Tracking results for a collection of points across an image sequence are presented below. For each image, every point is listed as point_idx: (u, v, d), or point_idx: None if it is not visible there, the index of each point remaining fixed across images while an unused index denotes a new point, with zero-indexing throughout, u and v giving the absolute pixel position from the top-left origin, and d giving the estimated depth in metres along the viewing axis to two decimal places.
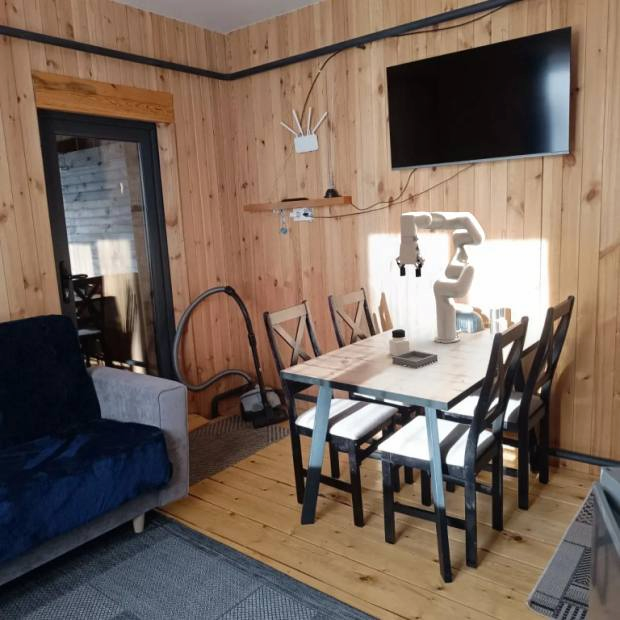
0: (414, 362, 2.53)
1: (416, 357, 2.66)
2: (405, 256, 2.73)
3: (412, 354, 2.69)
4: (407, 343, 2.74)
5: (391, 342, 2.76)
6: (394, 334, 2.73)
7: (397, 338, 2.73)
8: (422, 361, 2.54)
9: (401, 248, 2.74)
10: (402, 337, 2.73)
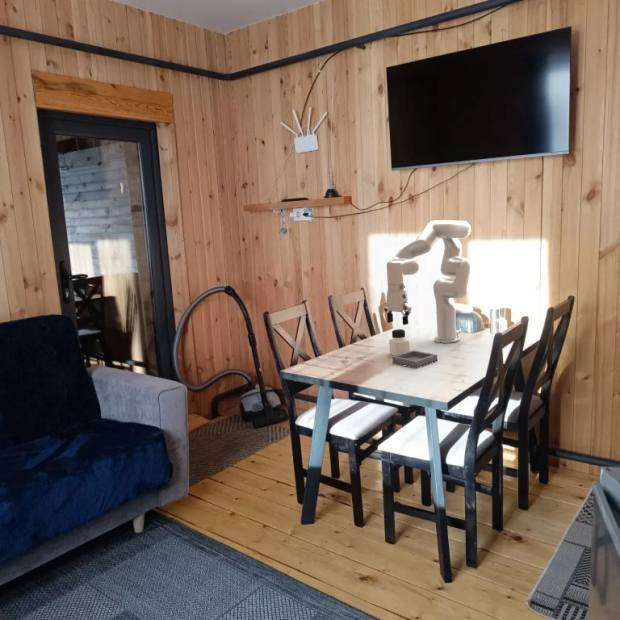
0: (414, 362, 2.53)
1: (416, 357, 2.66)
2: (392, 303, 2.72)
3: (412, 354, 2.69)
4: (407, 343, 2.74)
5: (391, 342, 2.76)
6: (394, 334, 2.73)
7: (397, 338, 2.73)
8: (422, 361, 2.54)
9: (388, 295, 2.73)
10: (402, 337, 2.73)
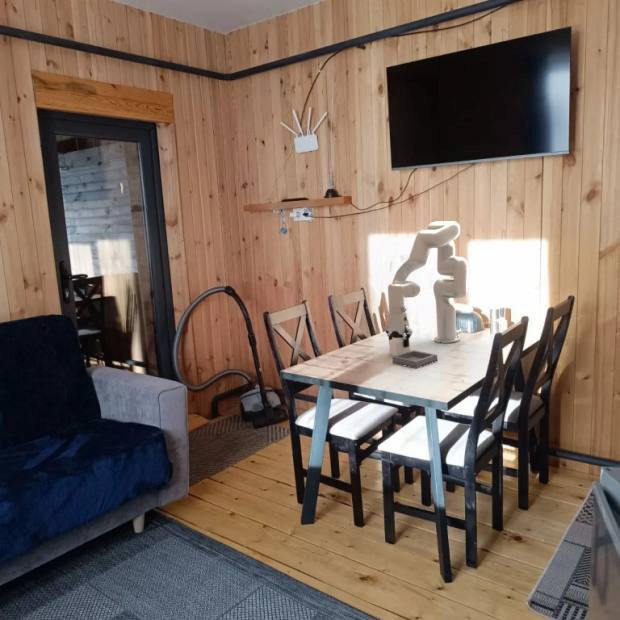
0: (414, 362, 2.53)
1: (416, 357, 2.66)
2: (393, 326, 2.74)
3: (412, 354, 2.69)
4: None
5: (391, 342, 2.76)
6: (394, 334, 2.73)
7: (397, 338, 2.73)
8: (422, 361, 2.54)
9: (389, 318, 2.75)
10: (402, 337, 2.73)
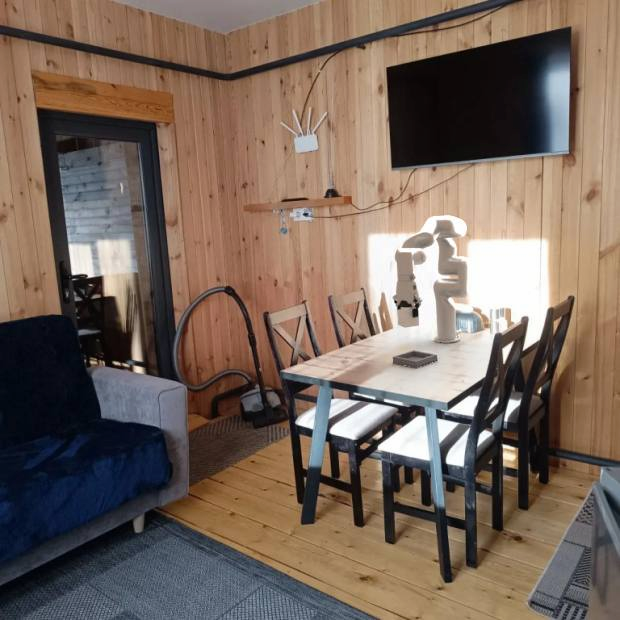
0: (414, 362, 2.53)
1: (416, 357, 2.66)
2: (402, 295, 2.60)
3: (412, 354, 2.69)
4: None
5: (399, 312, 2.62)
6: (403, 303, 2.60)
7: (406, 308, 2.59)
8: (422, 361, 2.54)
9: (398, 287, 2.61)
10: (411, 307, 2.59)
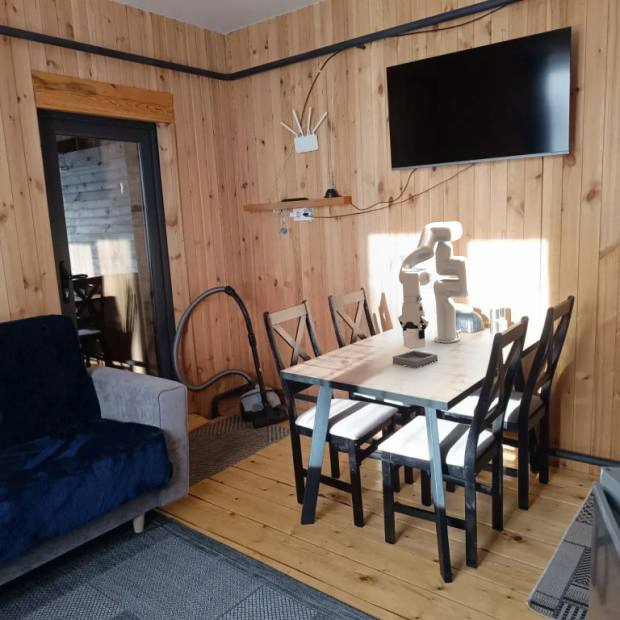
0: (414, 362, 2.53)
1: (416, 357, 2.66)
2: (408, 316, 2.57)
3: (412, 354, 2.69)
4: None
5: (405, 333, 2.59)
6: (409, 325, 2.57)
7: (412, 329, 2.56)
8: (422, 361, 2.54)
9: (404, 308, 2.58)
10: (417, 328, 2.56)
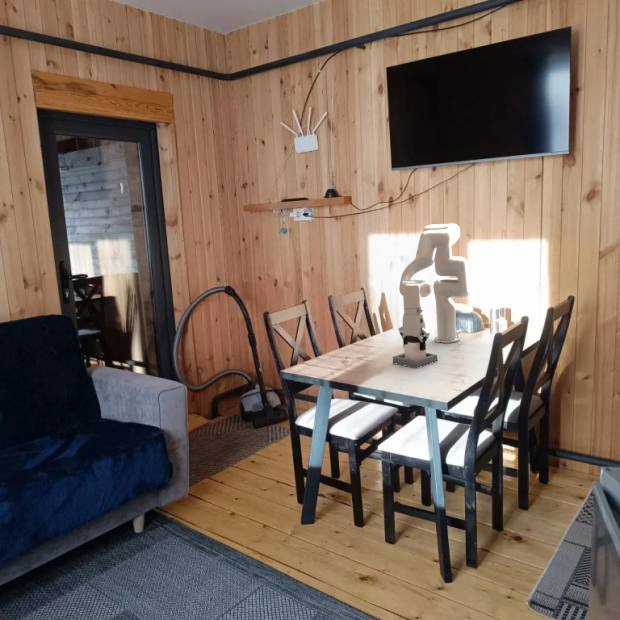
0: (414, 362, 2.53)
1: None
2: (408, 328, 2.58)
3: None
4: None
5: (406, 347, 2.60)
6: (410, 339, 2.58)
7: (413, 343, 2.58)
8: (422, 361, 2.54)
9: (404, 319, 2.59)
10: (418, 342, 2.58)
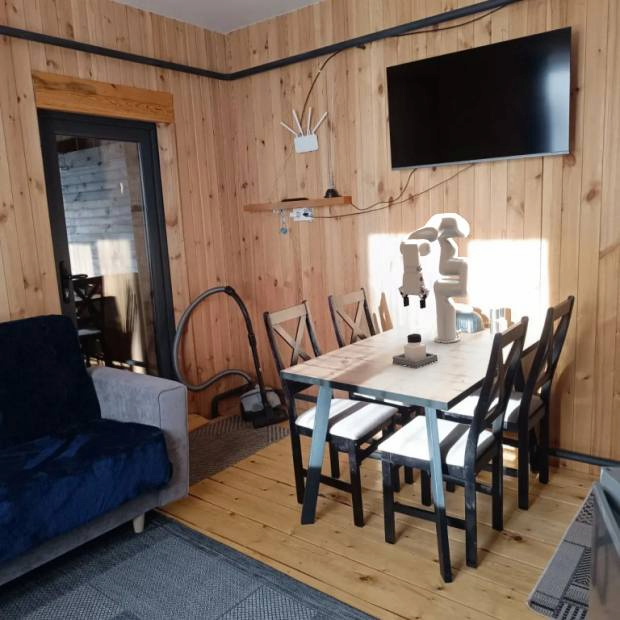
0: (414, 362, 2.53)
1: None
2: (408, 287, 2.61)
3: None
4: (424, 348, 2.58)
5: (406, 347, 2.60)
6: (410, 339, 2.58)
7: (413, 343, 2.58)
8: (422, 361, 2.54)
9: (404, 278, 2.62)
10: (418, 342, 2.58)
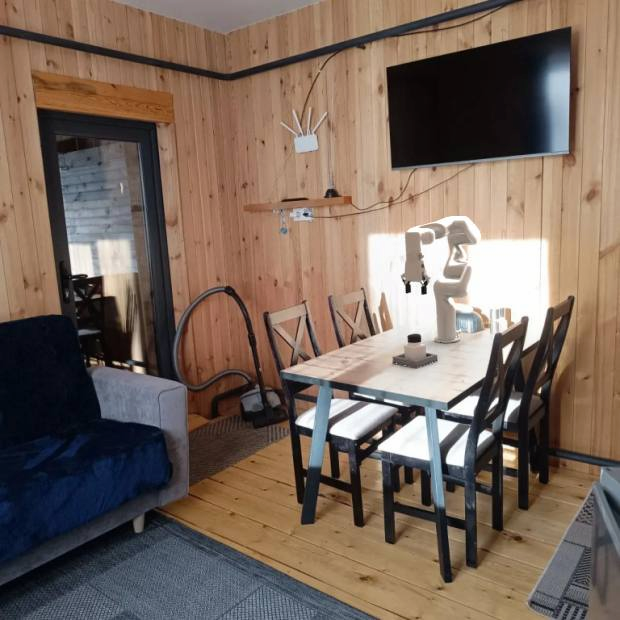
0: (414, 362, 2.53)
1: None
2: (410, 273, 2.70)
3: None
4: (424, 348, 2.58)
5: (406, 347, 2.60)
6: (410, 339, 2.58)
7: (413, 343, 2.58)
8: (422, 361, 2.54)
9: (406, 266, 2.72)
10: (418, 342, 2.58)
